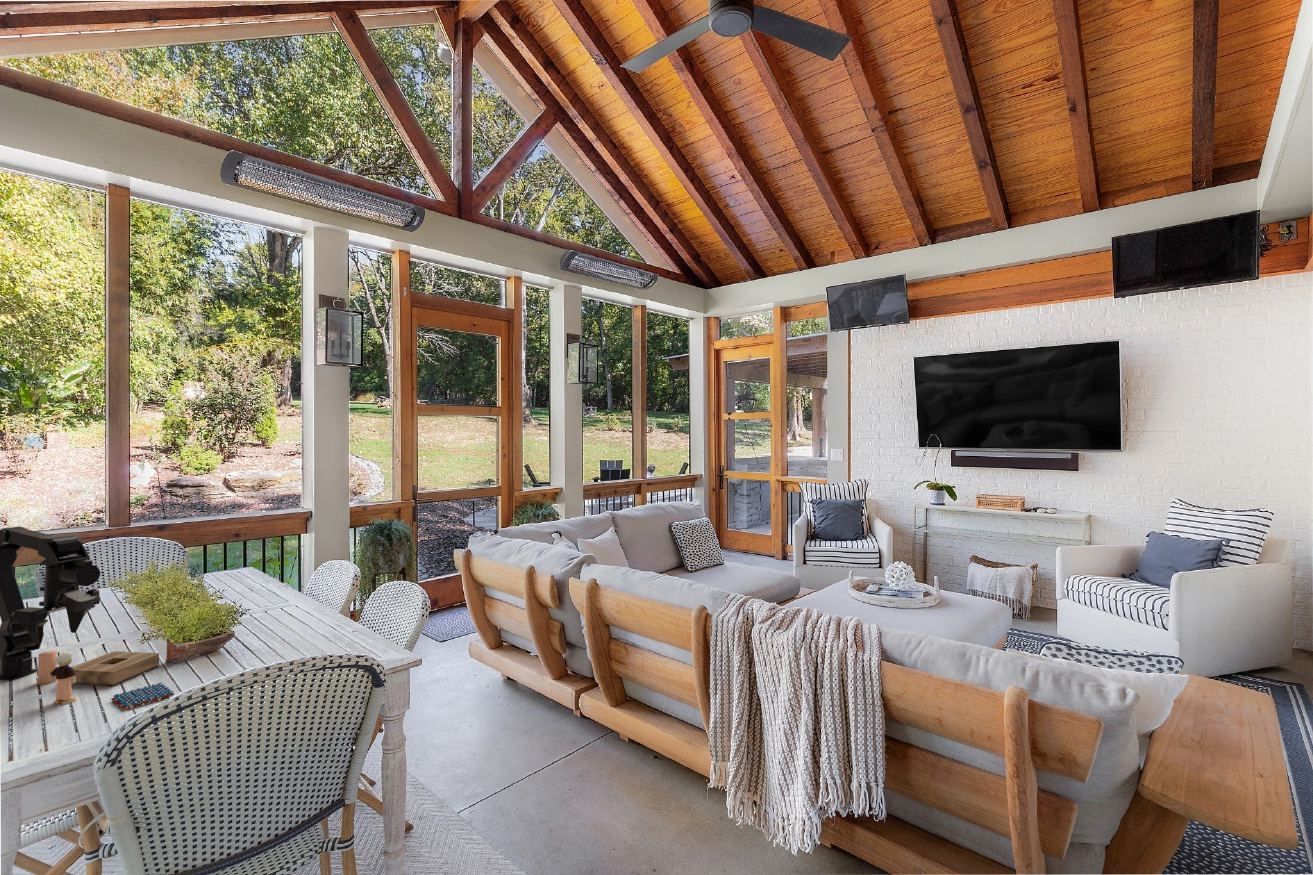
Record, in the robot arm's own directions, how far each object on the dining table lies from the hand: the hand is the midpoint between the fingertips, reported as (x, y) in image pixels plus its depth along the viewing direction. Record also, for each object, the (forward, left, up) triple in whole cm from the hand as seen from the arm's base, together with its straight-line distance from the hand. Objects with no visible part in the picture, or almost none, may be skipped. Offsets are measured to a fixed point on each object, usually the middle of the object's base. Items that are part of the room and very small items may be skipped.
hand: (56, 638), depth 162 cm
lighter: (+20, +18, -12) cm, 30 cm away
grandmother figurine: (+14, -11, -12) cm, 22 cm away
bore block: (+11, +5, -12) cm, 17 cm away
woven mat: (+32, -8, -13) cm, 35 cm away
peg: (-2, -1, -12) cm, 12 cm away
